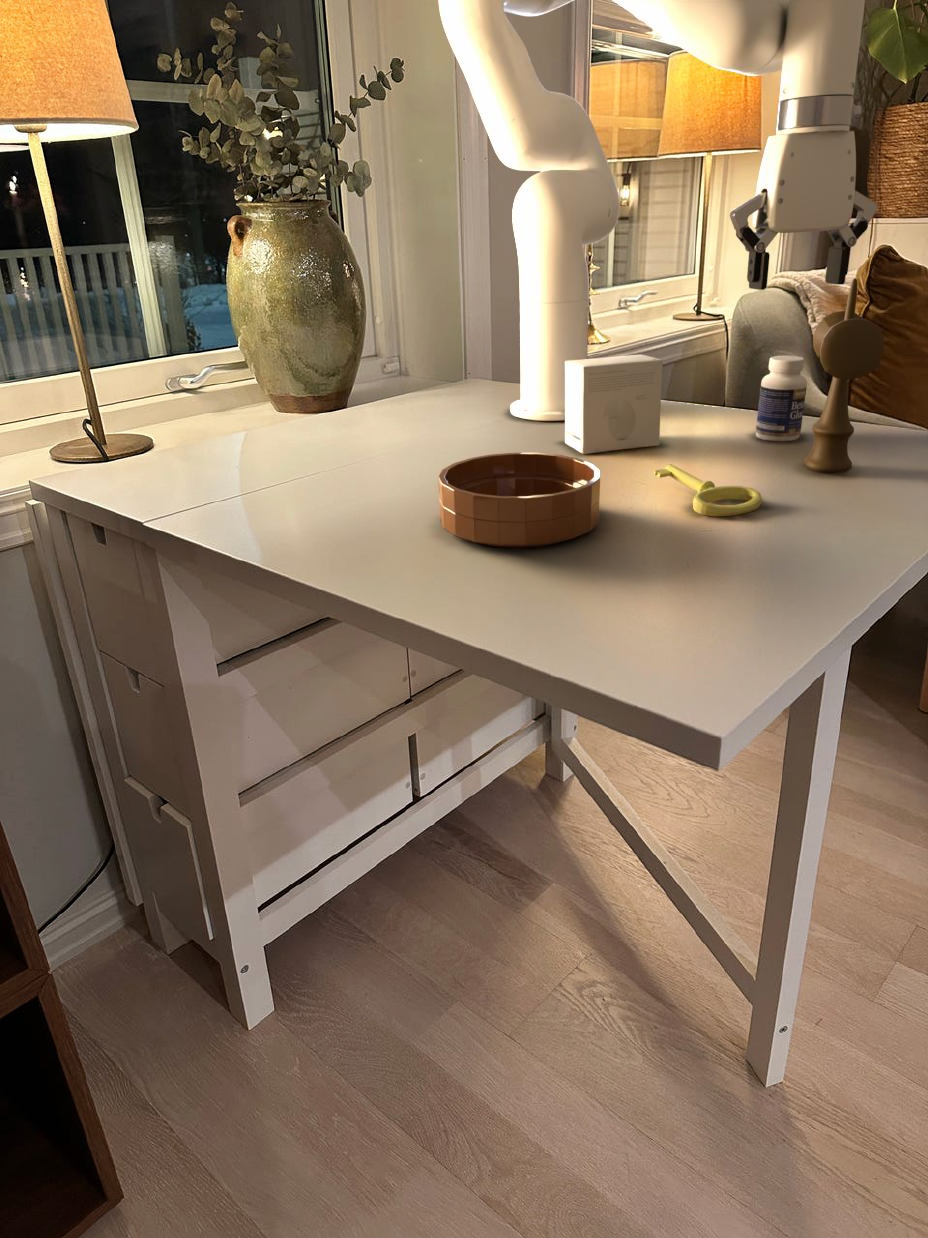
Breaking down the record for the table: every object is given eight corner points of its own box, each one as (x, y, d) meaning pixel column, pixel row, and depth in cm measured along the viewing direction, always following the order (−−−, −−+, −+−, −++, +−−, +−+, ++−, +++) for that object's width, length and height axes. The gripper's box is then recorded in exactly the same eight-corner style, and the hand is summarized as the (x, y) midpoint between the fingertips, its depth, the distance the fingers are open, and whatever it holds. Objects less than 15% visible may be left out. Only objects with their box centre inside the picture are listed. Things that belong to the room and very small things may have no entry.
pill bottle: (794, 444, 109) (804, 362, 104) (750, 439, 111) (758, 360, 107) (804, 434, 113) (814, 355, 109) (761, 430, 115) (770, 353, 111)
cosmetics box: (637, 434, 116) (642, 351, 111) (660, 446, 110) (665, 359, 105) (562, 442, 113) (563, 358, 109) (581, 454, 108) (583, 366, 103)
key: (666, 481, 97) (667, 461, 96) (769, 504, 88) (772, 484, 87) (626, 496, 92) (627, 476, 91) (730, 523, 84) (733, 501, 83)
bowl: (431, 506, 92) (428, 459, 89) (572, 494, 94) (573, 447, 92) (455, 558, 78) (453, 504, 76) (620, 542, 80) (622, 489, 78)
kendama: (803, 481, 95) (829, 282, 86) (794, 457, 103) (817, 274, 95) (863, 483, 93) (896, 282, 85) (849, 459, 102) (878, 273, 93)
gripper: (867, 119, 101) (846, 279, 108) (723, 125, 99) (712, 288, 106) (907, 112, 94) (883, 283, 101) (755, 118, 92) (740, 293, 99)
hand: (796, 286), depth 104 cm, fingers open, 9 cm apart
